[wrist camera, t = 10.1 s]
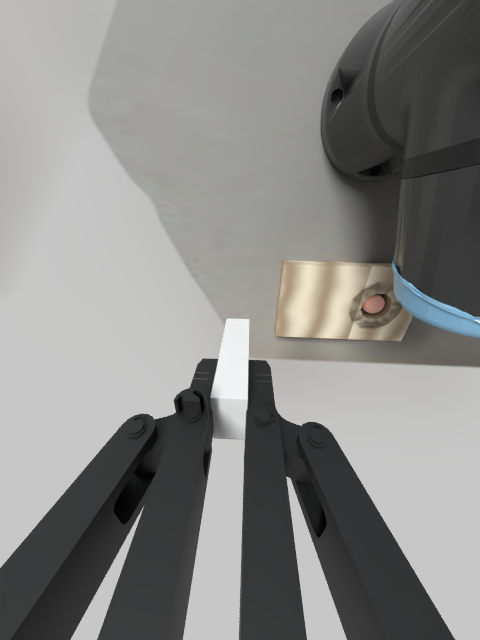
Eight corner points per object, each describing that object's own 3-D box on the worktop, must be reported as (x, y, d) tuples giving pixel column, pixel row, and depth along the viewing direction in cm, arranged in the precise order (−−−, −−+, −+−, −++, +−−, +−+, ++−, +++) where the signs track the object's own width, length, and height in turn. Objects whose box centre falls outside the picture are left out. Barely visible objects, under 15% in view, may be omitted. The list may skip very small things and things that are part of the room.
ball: (375, 289, 38) (377, 289, 35) (387, 304, 37) (390, 306, 34) (356, 300, 40) (357, 301, 36) (368, 315, 39) (370, 318, 36)
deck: (273, 329, 43) (275, 336, 40) (281, 260, 36) (283, 264, 34) (393, 334, 42) (401, 341, 40) (424, 264, 35) (436, 268, 33)
